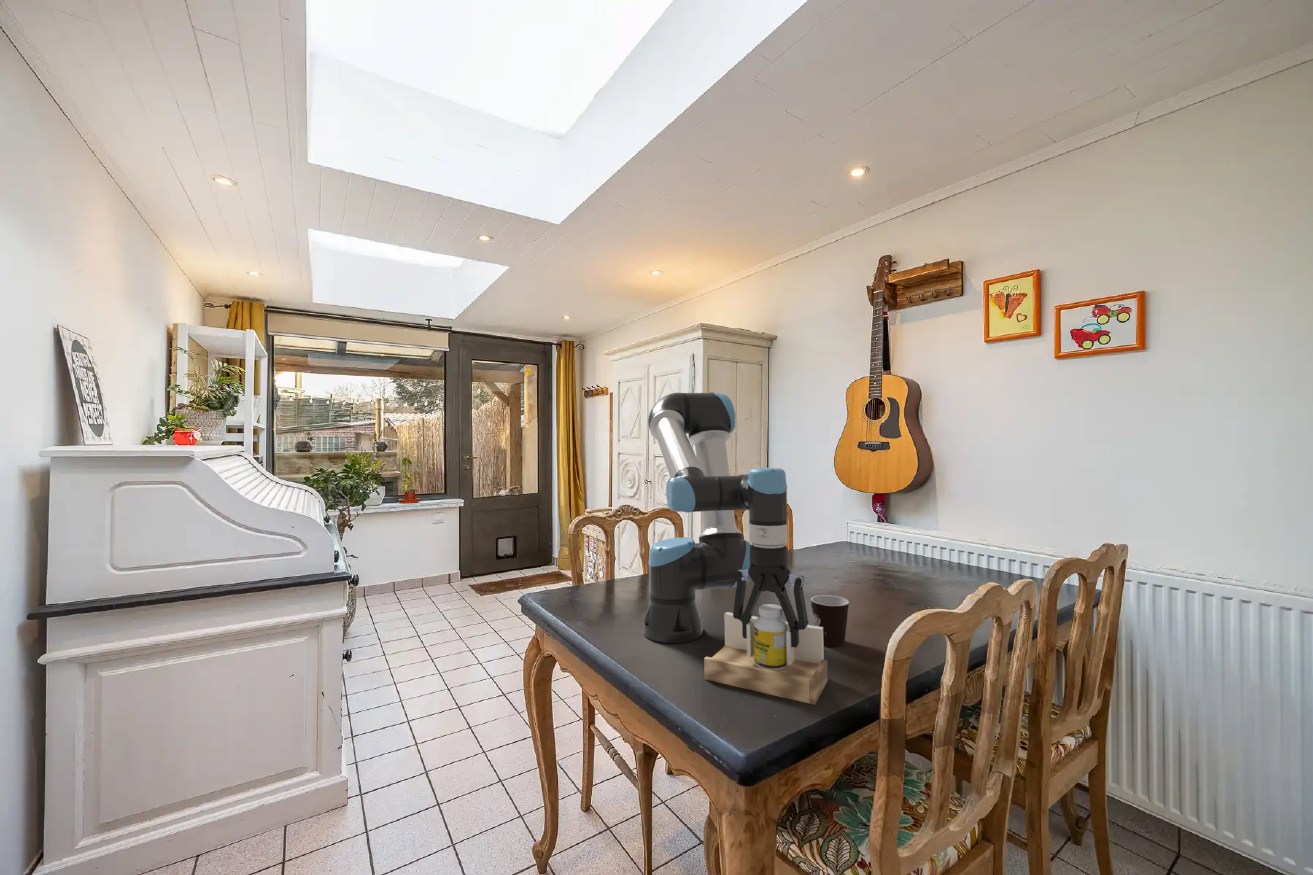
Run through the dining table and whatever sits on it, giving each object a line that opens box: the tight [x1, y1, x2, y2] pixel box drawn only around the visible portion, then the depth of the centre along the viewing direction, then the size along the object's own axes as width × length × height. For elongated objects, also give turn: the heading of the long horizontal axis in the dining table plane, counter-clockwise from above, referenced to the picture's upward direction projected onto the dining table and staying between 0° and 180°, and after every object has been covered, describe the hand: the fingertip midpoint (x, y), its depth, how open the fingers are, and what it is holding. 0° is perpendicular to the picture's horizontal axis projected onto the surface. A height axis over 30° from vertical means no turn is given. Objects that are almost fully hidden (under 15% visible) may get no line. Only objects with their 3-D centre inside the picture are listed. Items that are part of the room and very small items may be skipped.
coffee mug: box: [810, 594, 850, 649], centre depth 124 cm, size 12×9×10 cm
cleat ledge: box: [703, 645, 829, 706], centre depth 104 cm, size 22×11×4 cm, turn 60°
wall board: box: [723, 611, 825, 664], centre depth 109 cm, size 21×2×10 cm, turn 60°
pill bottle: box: [754, 603, 787, 671], centre depth 103 cm, size 6×6×12 cm
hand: (770, 658), depth 103 cm, fingers open, 7 cm apart
